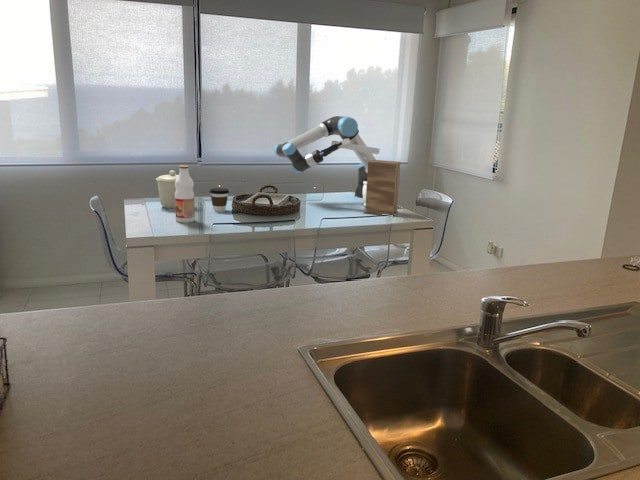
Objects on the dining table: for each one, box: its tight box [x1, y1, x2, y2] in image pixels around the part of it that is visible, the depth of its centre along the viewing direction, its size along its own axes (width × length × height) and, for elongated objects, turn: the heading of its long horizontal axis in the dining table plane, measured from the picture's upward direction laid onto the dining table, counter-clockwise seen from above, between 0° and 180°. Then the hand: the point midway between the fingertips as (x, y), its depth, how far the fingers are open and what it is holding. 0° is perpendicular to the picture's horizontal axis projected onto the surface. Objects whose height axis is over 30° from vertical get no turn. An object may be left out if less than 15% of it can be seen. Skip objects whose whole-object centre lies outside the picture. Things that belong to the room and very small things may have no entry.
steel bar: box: [330, 140, 381, 155], centre depth 307 cm, size 4×28×3 cm, turn 70°
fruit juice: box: [175, 164, 196, 224], centre depth 267 cm, size 9×9×28 cm
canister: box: [155, 169, 179, 210], centre depth 301 cm, size 18×18×21 cm
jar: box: [362, 181, 367, 207], centre depth 331 cm, size 11×10×15 cm
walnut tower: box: [363, 159, 402, 216], centre depth 307 cm, size 13×17×30 cm
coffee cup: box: [208, 187, 230, 213], centre depth 298 cm, size 11×11×12 cm
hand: (348, 140), depth 308 cm, fingers closed on steel bar, 4 cm apart
